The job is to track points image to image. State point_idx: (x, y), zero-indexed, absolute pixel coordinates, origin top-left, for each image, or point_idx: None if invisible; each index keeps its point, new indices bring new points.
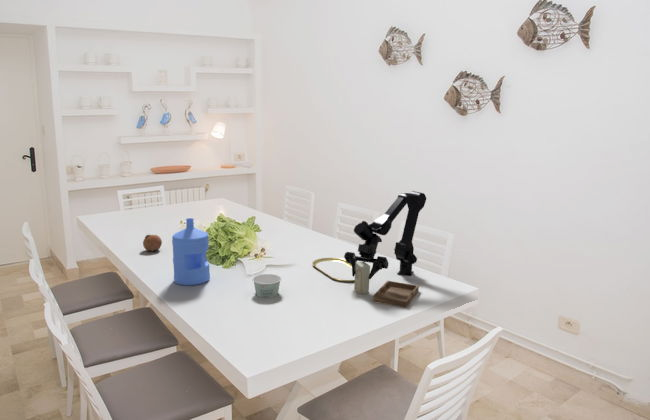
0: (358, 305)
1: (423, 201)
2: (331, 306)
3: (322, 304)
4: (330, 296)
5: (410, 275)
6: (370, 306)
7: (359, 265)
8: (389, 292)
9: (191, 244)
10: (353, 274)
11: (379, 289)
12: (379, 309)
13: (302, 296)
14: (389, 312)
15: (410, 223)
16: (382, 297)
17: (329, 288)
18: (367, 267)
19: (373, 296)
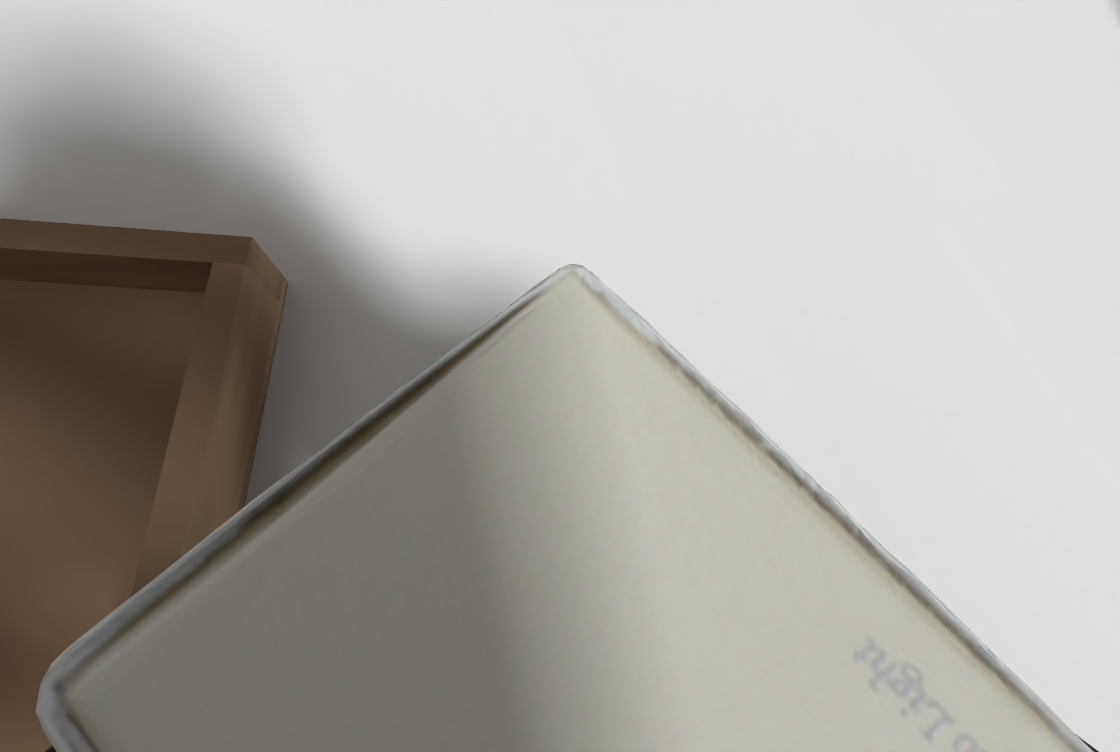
0: (436, 128)
1: None
2: (688, 32)
3: (786, 49)
4: (826, 255)
5: None
6: (290, 143)
7: (774, 485)
8: (18, 716)
9: None
10: None
11: (169, 565)
12: (167, 99)
13: (1059, 159)
14: (34, 60)
15: None
16: (84, 226)
17: (984, 502)
18: (264, 518)
19: (246, 241)
